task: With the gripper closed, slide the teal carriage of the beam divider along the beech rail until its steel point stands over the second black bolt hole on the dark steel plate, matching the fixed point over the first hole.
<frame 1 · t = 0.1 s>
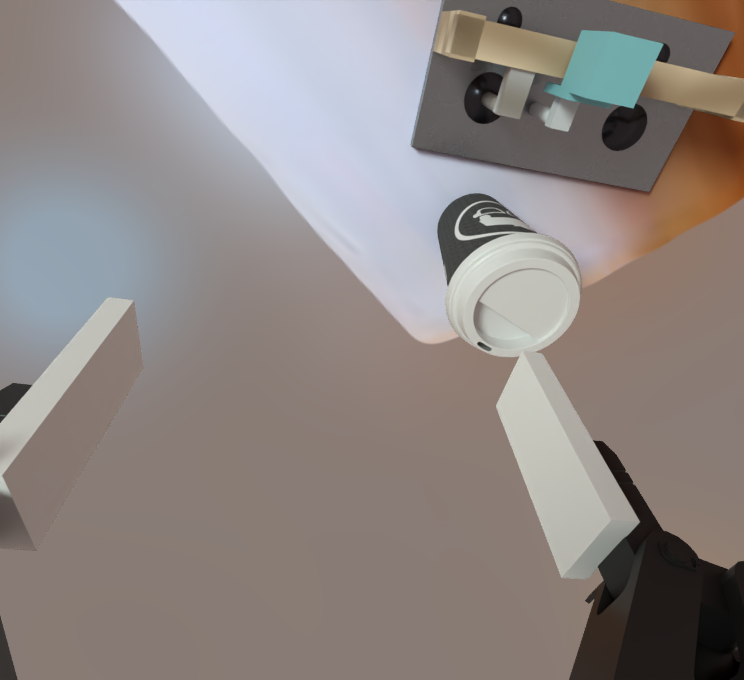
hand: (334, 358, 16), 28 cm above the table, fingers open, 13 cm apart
bolt plate: (560, 91, 36), on the table
divider rail: (571, 62, 35), resting on bolt plate
slider leg: (575, 84, 30), point 7 cm above the table, slide at 0.0 cm
coffee cup: (470, 226, 43), on the table
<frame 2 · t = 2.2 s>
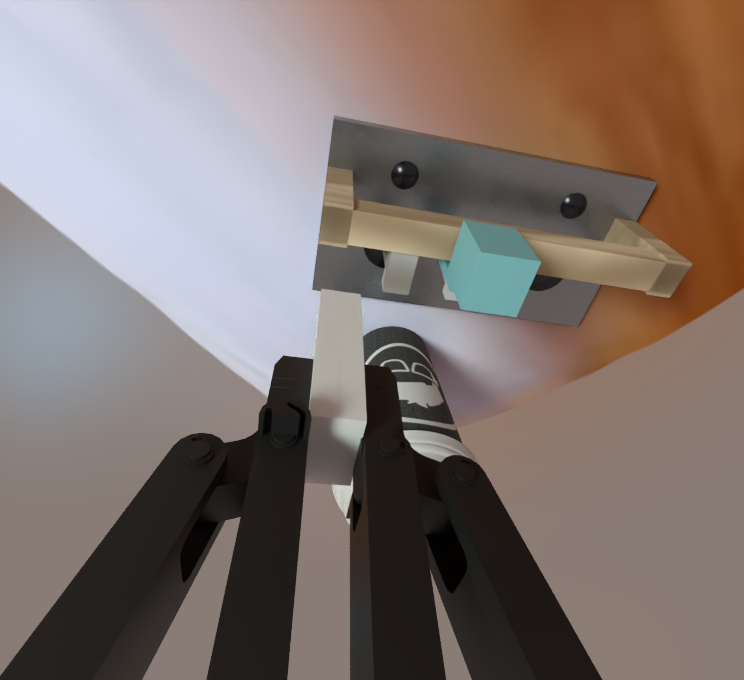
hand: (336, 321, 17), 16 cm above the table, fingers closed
bolt plate: (471, 233, 33), on the table
divider rail: (480, 207, 32), resting on bolt plate
slider leg: (468, 260, 27), point 7 cm above the table, slide at 0.0 cm
coffee cup: (389, 355, 40), on the table
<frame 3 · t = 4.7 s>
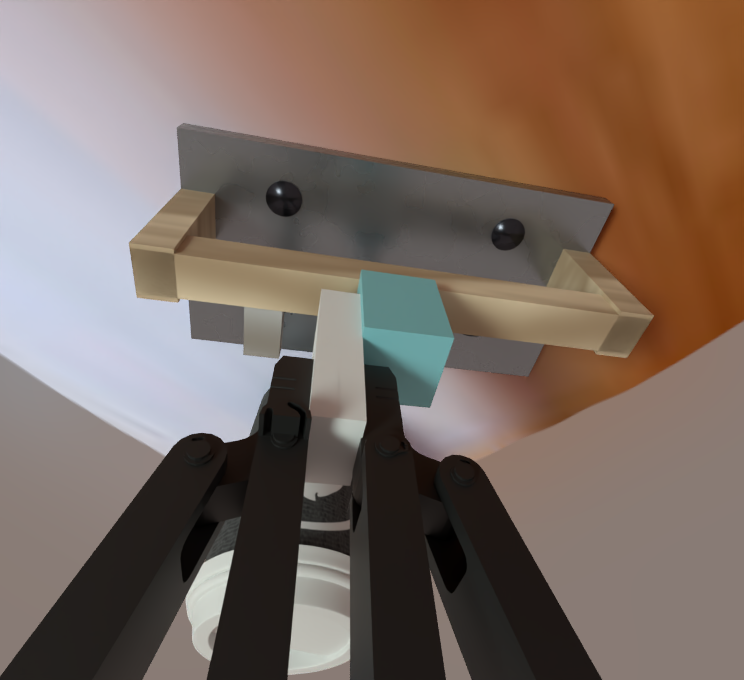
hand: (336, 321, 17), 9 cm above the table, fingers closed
bolt plate: (385, 268, 26), on the table
divider rail: (392, 236, 25), resting on bolt plate
slider leg: (383, 316, 20), point 7 cm above the table, slide at 1.3 cm, touching gripper
coffee cup: (305, 408, 33), on the table
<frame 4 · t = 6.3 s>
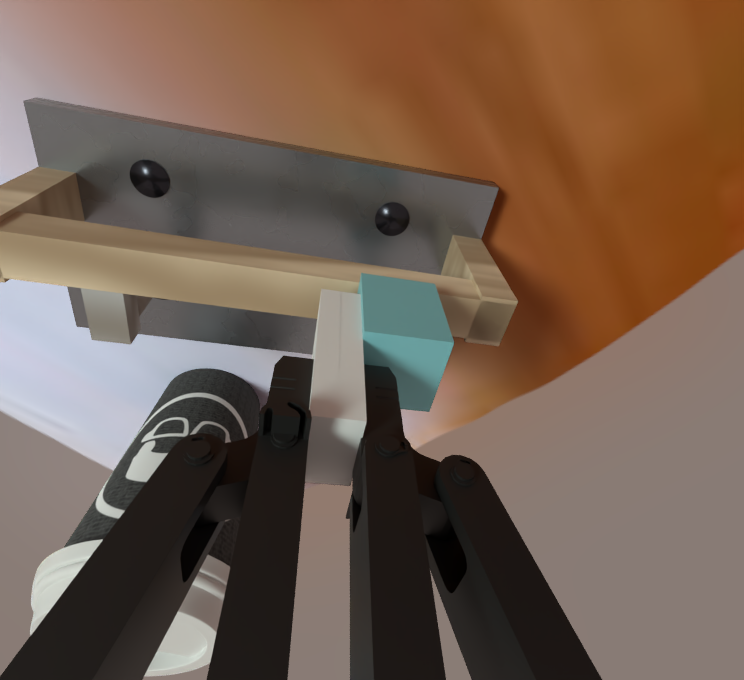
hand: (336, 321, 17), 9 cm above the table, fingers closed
bolt plate: (274, 254, 25), on the table
divider rail: (276, 220, 24), resting on bolt plate
slider leg: (382, 319, 20), point 7 cm above the table, slide at 7.7 cm, touching gripper
coffee cup: (214, 401, 32), on the table
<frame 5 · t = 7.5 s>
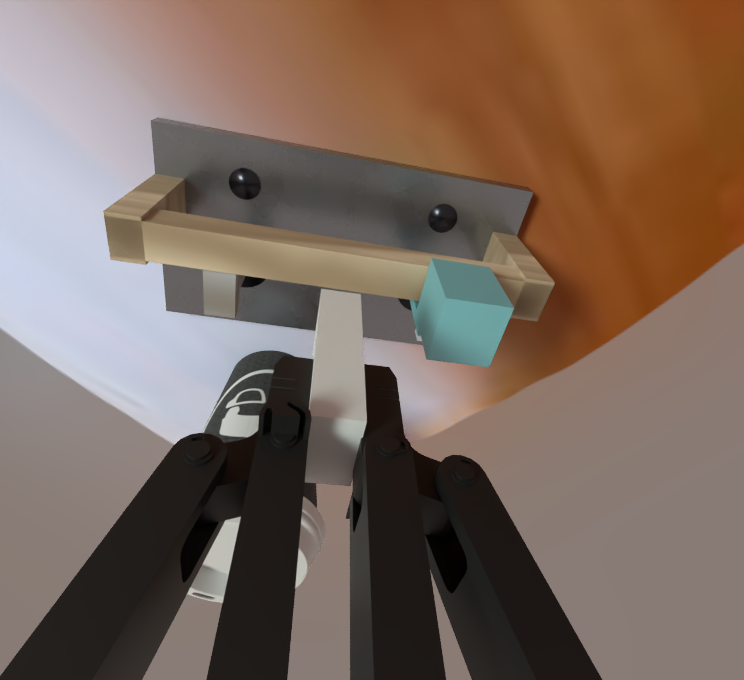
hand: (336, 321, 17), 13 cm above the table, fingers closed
bolt plate: (338, 249, 30), on the table
divider rail: (343, 220, 28), resting on bolt plate
slider leg: (441, 299, 24), point 7 cm above the table, slide at 7.7 cm
coffee cup: (273, 381, 36), on the table
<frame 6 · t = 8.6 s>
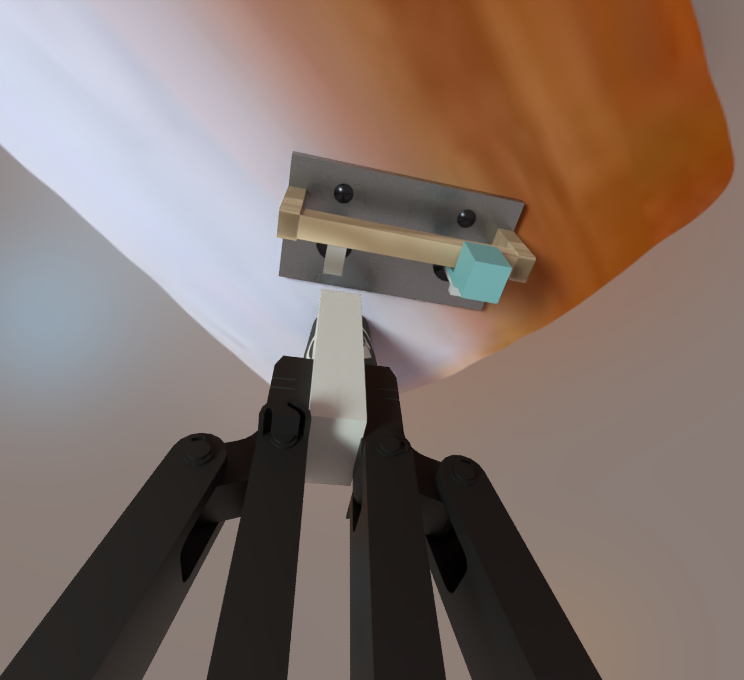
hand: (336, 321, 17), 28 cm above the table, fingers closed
bolt plate: (396, 237, 45), on the table
divider rail: (401, 218, 44), resting on bolt plate
slider leg: (466, 268, 40), point 7 cm above the table, slide at 7.7 cm
coffee cup: (340, 330, 51), on the table
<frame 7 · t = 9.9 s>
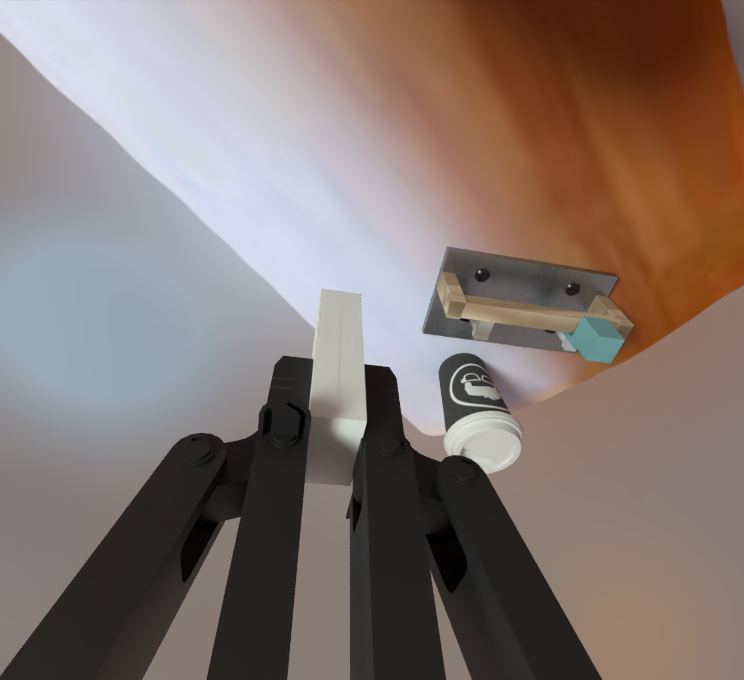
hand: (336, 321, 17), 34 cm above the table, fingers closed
bolt plate: (515, 302, 58), on the table
divider rail: (521, 288, 57), resting on bolt plate
slider leg: (579, 331, 53), point 7 cm above the table, slide at 7.7 cm
coffee cup: (460, 369, 65), on the table
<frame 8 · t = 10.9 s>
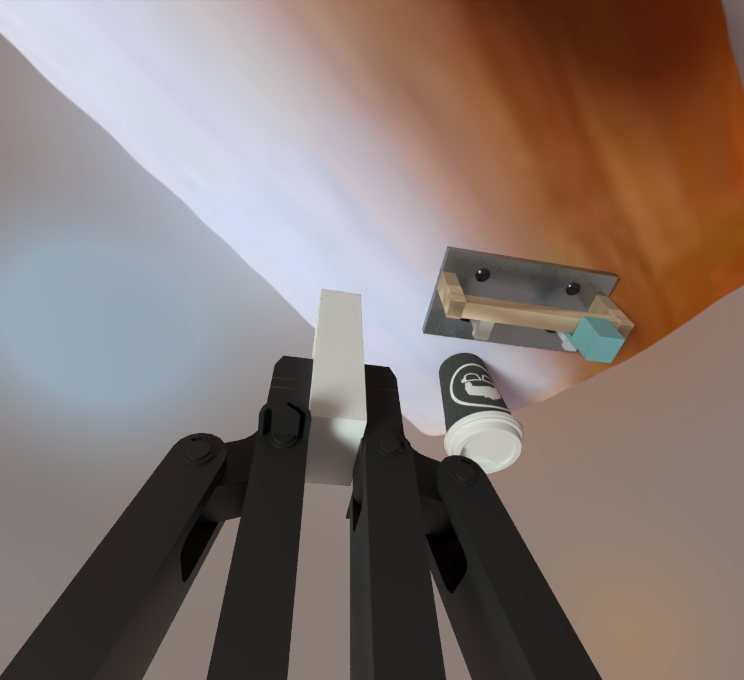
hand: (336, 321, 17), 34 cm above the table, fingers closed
bolt plate: (515, 302, 58), on the table
divider rail: (521, 288, 57), resting on bolt plate
slider leg: (579, 331, 53), point 7 cm above the table, slide at 7.7 cm
coffee cup: (461, 369, 65), on the table
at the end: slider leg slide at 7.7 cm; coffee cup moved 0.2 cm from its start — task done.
